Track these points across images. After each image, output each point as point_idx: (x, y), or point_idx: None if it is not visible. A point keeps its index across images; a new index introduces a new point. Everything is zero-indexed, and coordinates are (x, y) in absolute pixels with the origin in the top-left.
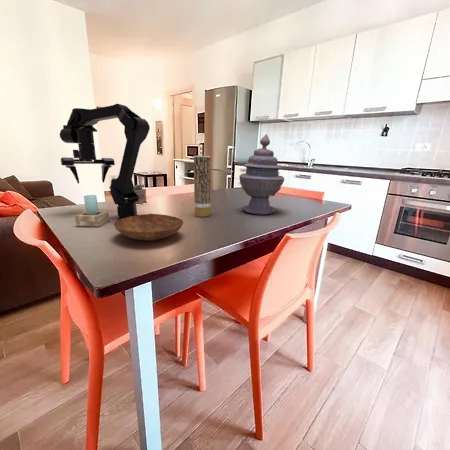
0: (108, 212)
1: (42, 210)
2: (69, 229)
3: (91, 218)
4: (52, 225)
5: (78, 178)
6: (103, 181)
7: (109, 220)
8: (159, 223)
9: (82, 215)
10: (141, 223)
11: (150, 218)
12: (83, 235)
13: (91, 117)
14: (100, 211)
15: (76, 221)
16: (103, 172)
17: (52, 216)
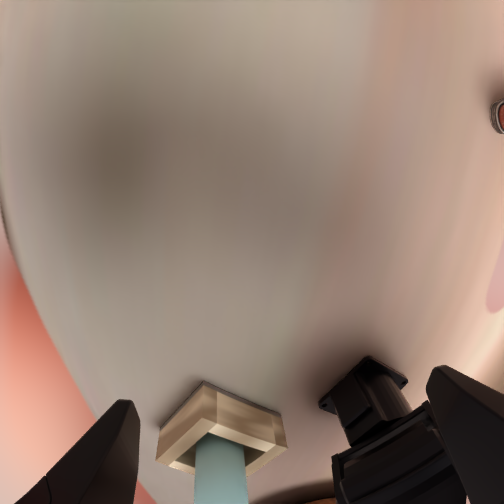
0: (286, 444)
1: (5, 6)
2: (140, 437)
3: None
4: (71, 370)
5: (134, 490)
6: (433, 400)
7: (281, 417)
8: None
9: (181, 465)
10: (328, 500)
11: None
12: (185, 483)
13: None
14: (256, 443)
15: (159, 444)
16: (475, 501)
17: (31, 190)
